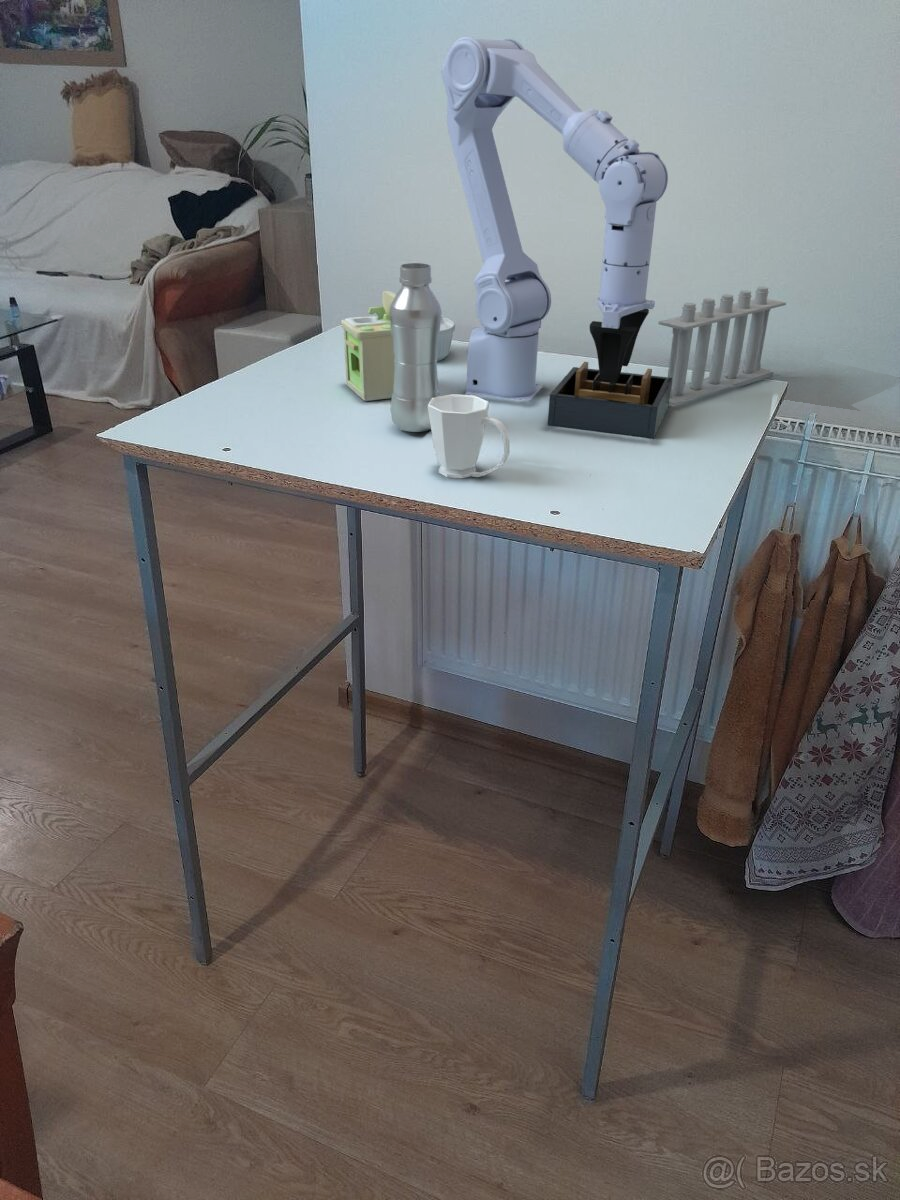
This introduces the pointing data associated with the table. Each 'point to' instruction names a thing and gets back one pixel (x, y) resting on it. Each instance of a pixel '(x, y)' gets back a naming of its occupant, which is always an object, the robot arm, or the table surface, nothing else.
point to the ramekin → (445, 337)
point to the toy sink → (370, 352)
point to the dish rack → (612, 387)
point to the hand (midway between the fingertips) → (614, 372)
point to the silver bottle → (414, 348)
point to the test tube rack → (719, 344)
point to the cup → (461, 433)
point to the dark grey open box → (609, 407)
